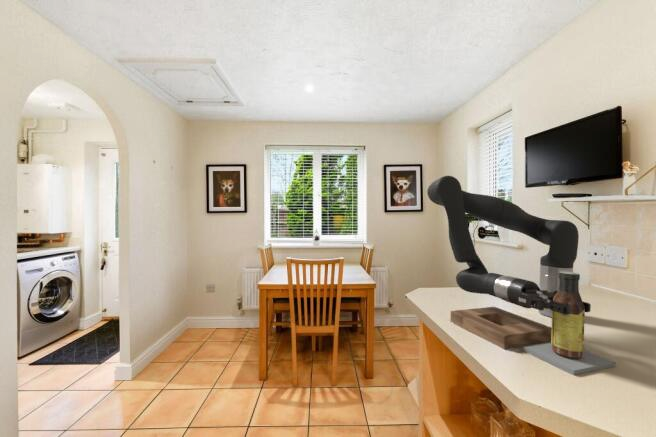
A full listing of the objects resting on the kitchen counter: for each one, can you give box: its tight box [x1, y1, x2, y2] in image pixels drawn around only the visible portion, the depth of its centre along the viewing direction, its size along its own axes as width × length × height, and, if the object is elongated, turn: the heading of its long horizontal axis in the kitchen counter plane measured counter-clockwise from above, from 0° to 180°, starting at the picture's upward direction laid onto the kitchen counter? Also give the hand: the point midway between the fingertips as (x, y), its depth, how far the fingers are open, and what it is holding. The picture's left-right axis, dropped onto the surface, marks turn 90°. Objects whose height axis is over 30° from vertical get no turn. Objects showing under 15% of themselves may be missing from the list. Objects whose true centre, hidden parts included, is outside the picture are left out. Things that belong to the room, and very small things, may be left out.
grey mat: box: [522, 342, 617, 376], centre depth 74 cm, size 14×12×1 cm
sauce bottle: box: [551, 271, 586, 358], centre depth 73 cm, size 6×6×20 cm
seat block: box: [449, 306, 552, 350], centre depth 90 cm, size 18×20×4 cm
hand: (579, 309), depth 71 cm, fingers open, 6 cm apart
